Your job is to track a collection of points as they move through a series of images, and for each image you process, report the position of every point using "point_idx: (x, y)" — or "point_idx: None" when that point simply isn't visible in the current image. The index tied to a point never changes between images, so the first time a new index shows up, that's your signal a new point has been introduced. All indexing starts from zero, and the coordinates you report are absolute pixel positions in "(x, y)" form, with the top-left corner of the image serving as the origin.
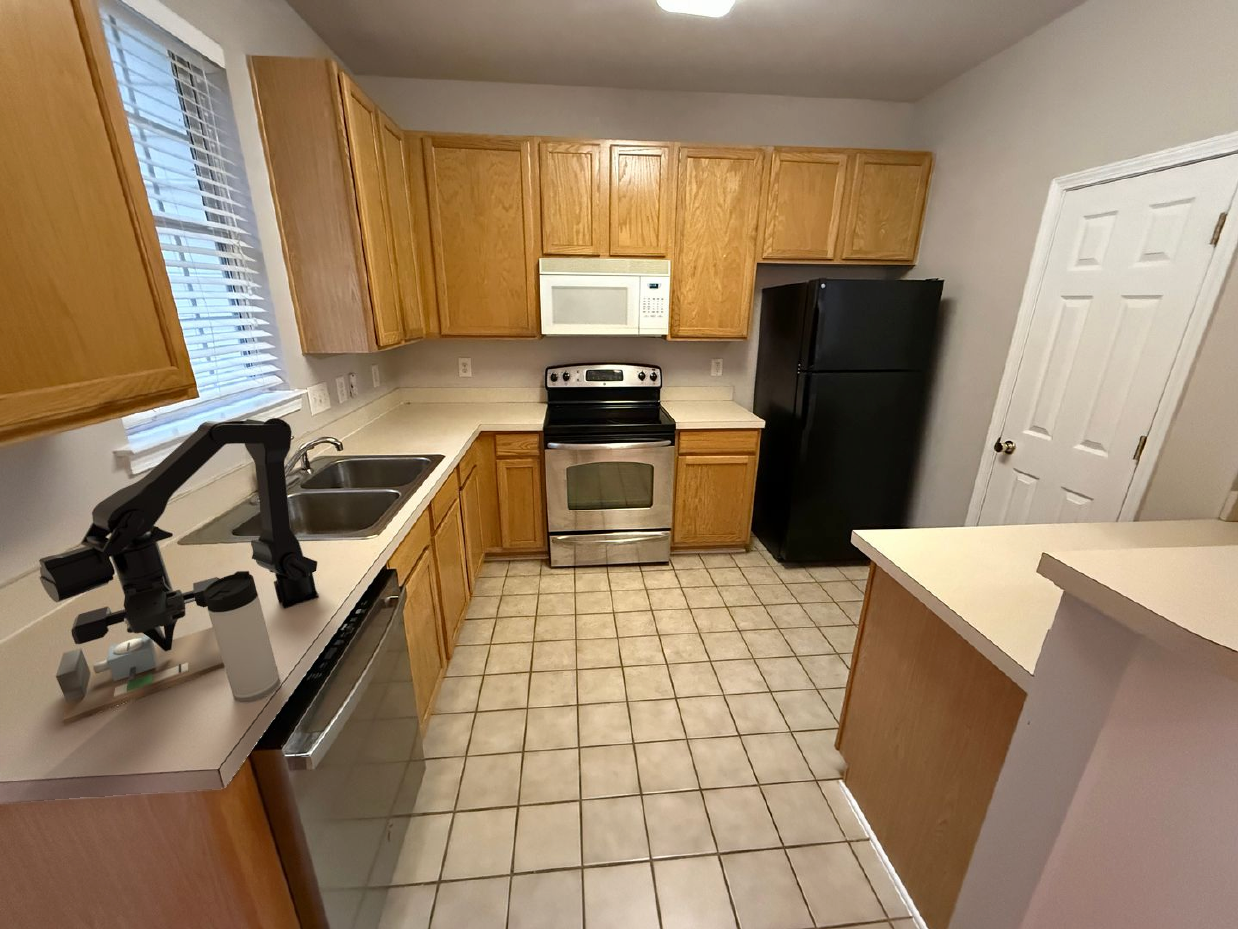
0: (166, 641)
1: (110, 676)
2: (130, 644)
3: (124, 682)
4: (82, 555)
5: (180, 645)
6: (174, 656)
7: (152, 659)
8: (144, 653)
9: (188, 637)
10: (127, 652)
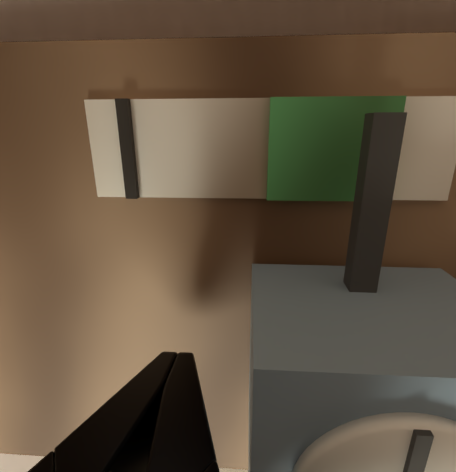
0: (142, 403)
1: None
2: None
3: (396, 233)
4: None
5: None
6: (173, 320)
7: (253, 294)
8: (291, 339)
9: None
10: (419, 414)
